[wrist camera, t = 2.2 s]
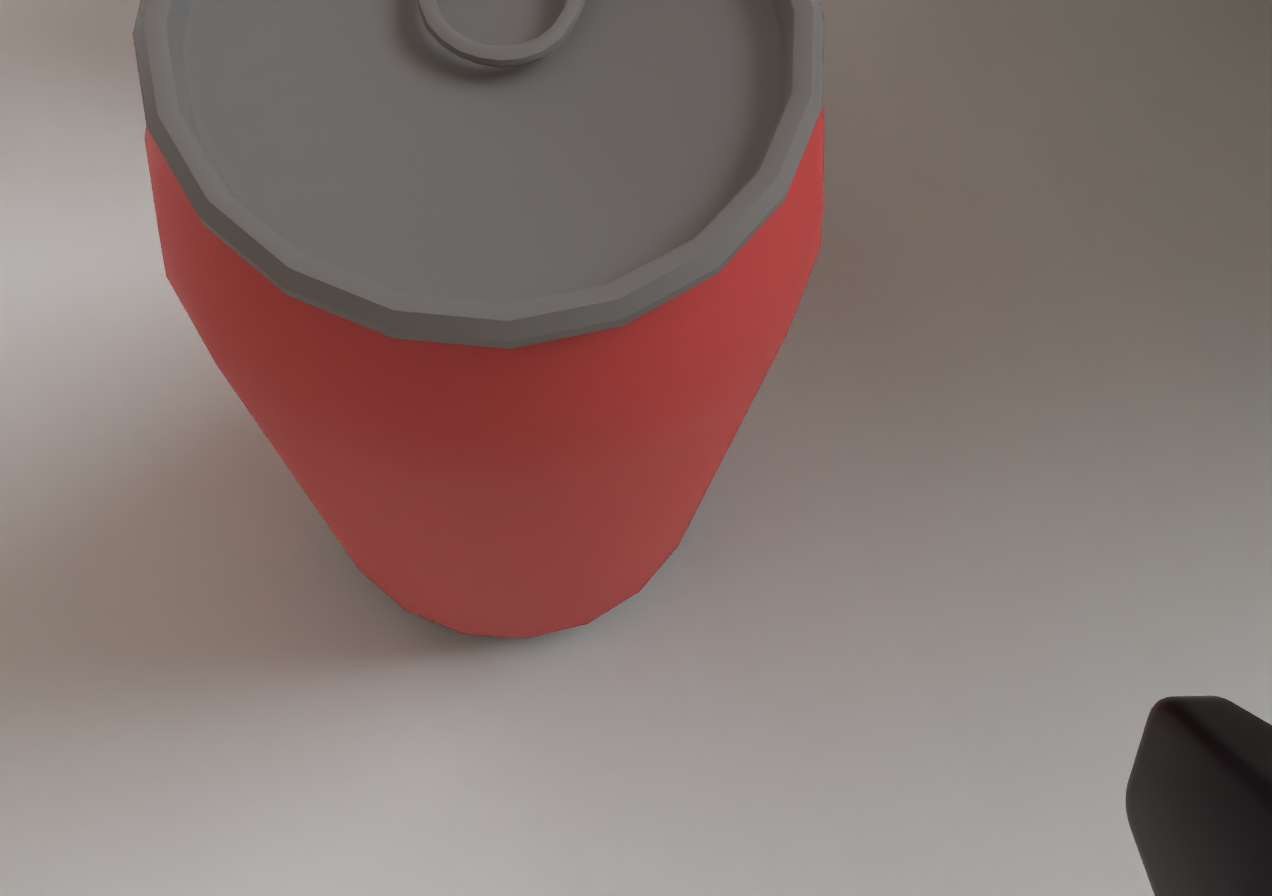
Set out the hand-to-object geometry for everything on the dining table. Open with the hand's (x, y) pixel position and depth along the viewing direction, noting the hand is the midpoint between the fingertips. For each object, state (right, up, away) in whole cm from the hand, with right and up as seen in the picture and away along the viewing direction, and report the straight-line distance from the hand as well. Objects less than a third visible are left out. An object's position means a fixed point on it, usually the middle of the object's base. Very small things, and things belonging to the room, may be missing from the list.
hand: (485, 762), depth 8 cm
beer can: (-1, +2, +13) cm, 14 cm away
